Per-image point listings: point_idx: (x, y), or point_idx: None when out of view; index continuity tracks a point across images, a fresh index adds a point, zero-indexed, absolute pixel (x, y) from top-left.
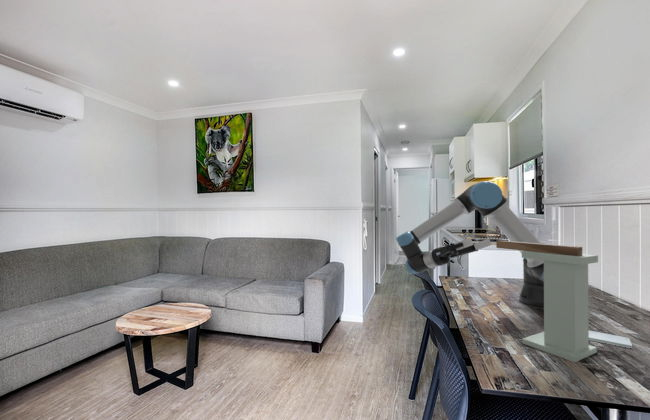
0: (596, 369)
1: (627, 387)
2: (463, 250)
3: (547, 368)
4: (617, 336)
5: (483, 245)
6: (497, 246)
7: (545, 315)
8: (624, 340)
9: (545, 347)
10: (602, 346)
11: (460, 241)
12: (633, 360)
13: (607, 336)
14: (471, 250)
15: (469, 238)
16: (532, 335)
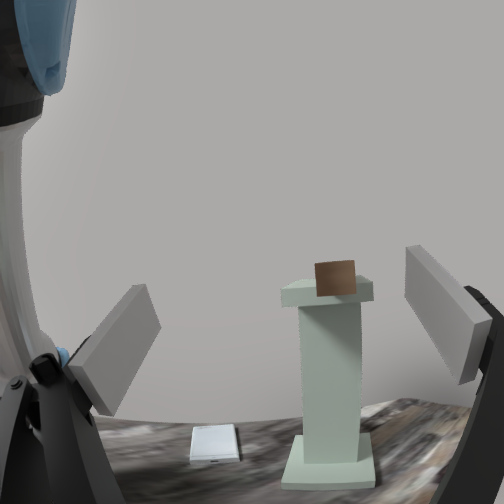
0: (365, 427)
1: (381, 408)
2: (113, 495)
3: (427, 437)
4: (199, 433)
5: (136, 348)
6: (355, 286)
7: (359, 414)
8: (215, 428)
9: (372, 456)
10: (256, 443)
11: (458, 282)
12: (286, 423)
13: (210, 438)
14: (98, 443)
15: (420, 249)
16: (335, 482)
